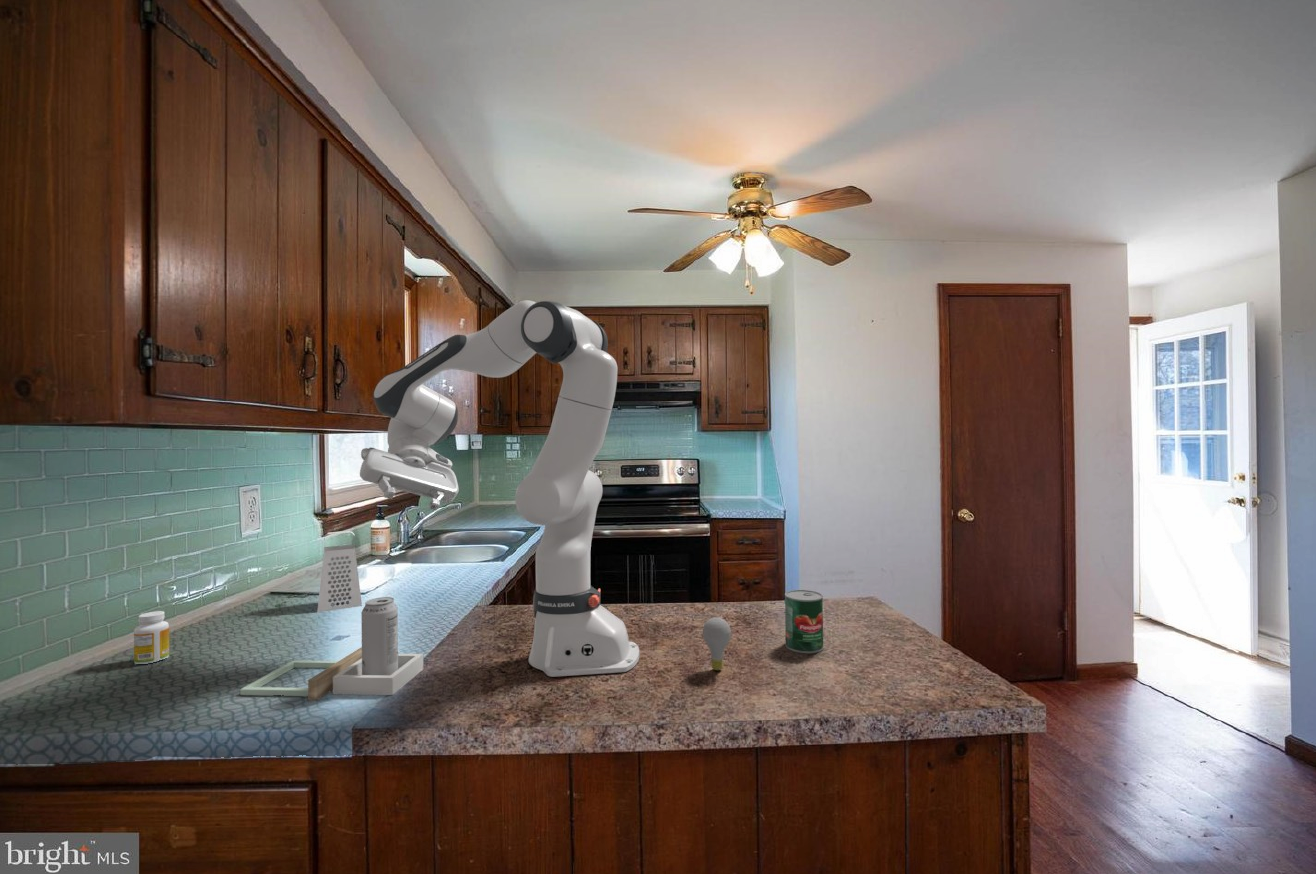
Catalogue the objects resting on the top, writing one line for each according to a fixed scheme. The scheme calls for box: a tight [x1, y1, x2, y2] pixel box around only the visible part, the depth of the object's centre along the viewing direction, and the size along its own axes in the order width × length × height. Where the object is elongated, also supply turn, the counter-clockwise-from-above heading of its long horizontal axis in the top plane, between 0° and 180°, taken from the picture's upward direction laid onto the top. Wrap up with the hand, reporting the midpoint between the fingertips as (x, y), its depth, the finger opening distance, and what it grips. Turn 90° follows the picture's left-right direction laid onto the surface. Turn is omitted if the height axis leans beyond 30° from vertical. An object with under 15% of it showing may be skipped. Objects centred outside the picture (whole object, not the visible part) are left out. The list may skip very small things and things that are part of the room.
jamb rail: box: [307, 646, 362, 701], centre depth 104 cm, size 2×16×4 cm, turn 176°
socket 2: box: [332, 653, 424, 696], centre depth 103 cm, size 11×11×3 cm
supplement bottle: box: [133, 610, 170, 665], centre depth 115 cm, size 5×5×10 cm
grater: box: [316, 530, 363, 613], centre depth 154 cm, size 10×10×20 cm
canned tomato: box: [784, 589, 825, 654], centre depth 118 cm, size 8×8×11 cm
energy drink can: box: [360, 596, 399, 675], centre depth 103 cm, size 6×6×15 cm
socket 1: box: [239, 659, 339, 697], centre depth 104 cm, size 13×13×1 cm
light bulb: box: [702, 617, 732, 672], centre depth 106 cm, size 6×6×10 cm
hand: (412, 502), depth 114 cm, fingers open, 8 cm apart
